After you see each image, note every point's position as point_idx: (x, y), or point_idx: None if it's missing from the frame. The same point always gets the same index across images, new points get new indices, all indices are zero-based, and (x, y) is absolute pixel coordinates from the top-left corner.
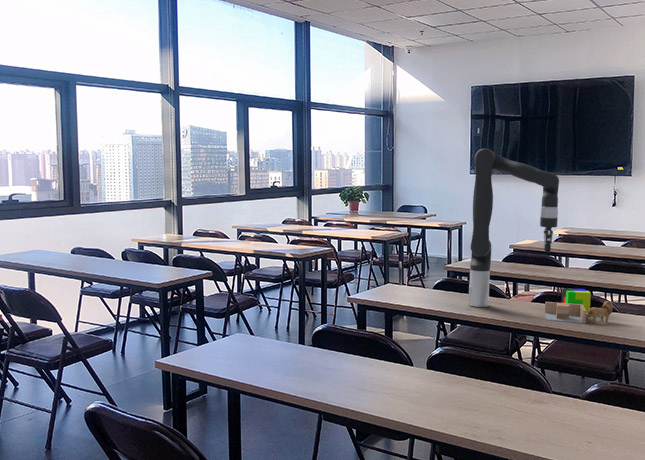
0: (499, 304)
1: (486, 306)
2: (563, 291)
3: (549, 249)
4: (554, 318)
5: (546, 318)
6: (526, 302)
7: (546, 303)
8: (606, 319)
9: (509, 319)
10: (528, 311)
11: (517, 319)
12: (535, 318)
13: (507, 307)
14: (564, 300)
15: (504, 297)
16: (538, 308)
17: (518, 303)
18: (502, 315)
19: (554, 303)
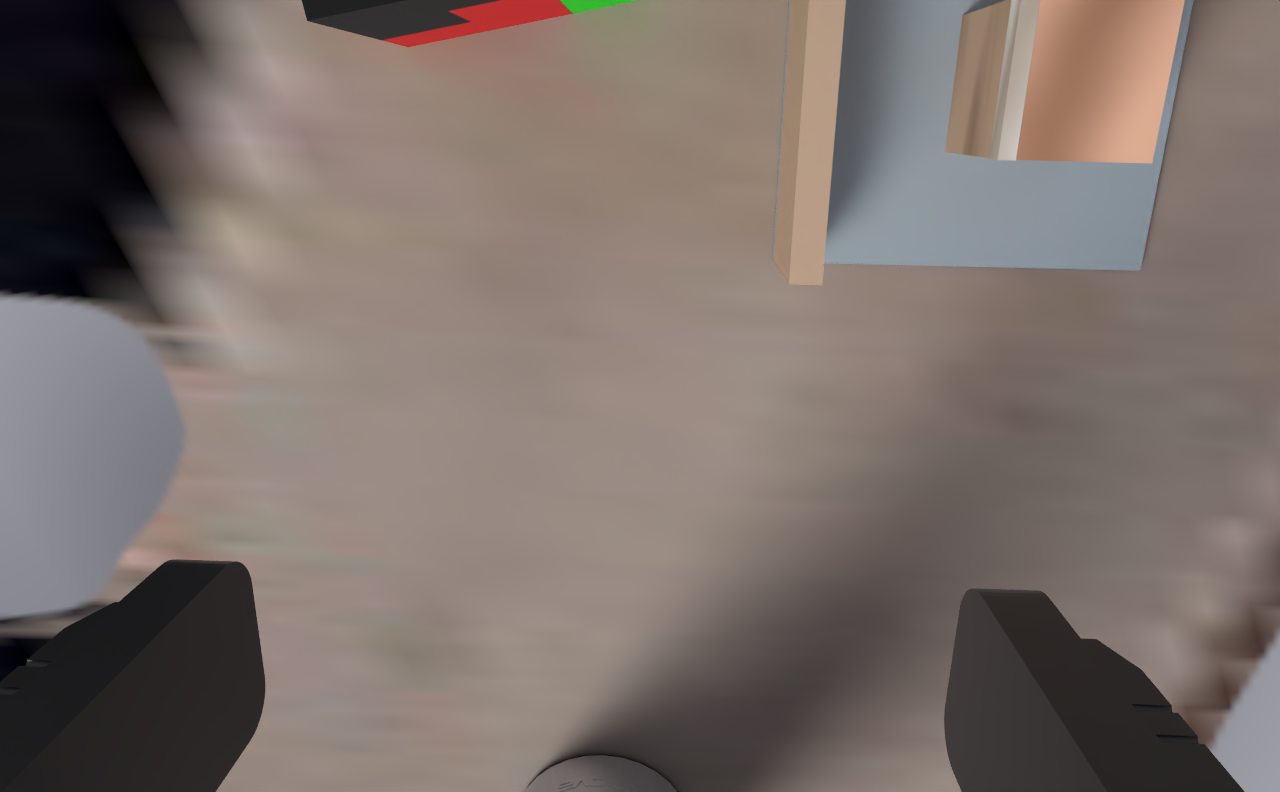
0: (470, 662)
1: (650, 769)
2: (396, 9)
3: (1161, 705)
4: (1073, 180)
5: (1095, 266)
6: (223, 413)
7: (821, 269)
8: None
9: (1168, 598)
10: (722, 417)
11: (1153, 533)
12: (1065, 369)
13: (593, 599)
14: (497, 9)
15: (60, 611)
16: (513, 307)
17: (325, 493)
18: None
19: (830, 172)
